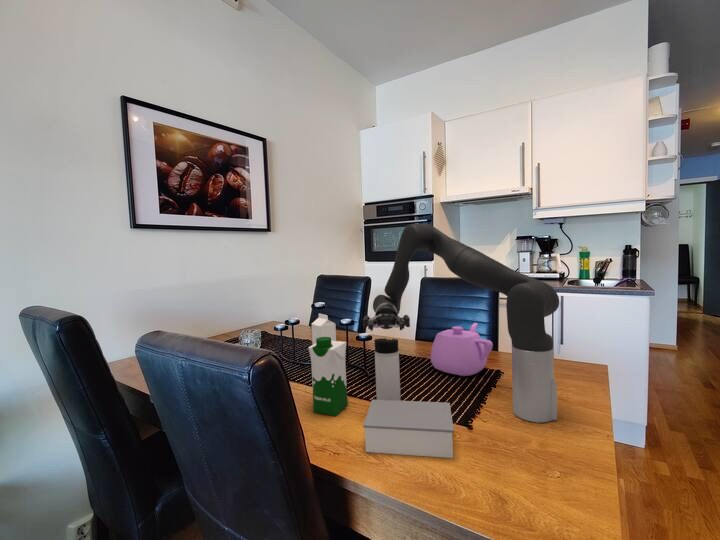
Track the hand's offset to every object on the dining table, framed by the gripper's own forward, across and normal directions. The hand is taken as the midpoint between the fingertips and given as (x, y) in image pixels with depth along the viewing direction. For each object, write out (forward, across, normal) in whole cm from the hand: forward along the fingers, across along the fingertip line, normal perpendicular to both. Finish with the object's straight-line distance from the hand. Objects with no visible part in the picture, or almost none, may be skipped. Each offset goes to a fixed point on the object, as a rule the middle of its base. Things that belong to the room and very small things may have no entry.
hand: (386, 327), depth 100 cm
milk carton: (+8, -16, +21) cm, 27 cm away
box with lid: (+24, +5, +20) cm, 31 cm away
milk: (-14, -21, +21) cm, 33 cm away
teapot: (-22, +25, +21) cm, 39 cm away
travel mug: (+11, 0, +20) cm, 23 cm away
